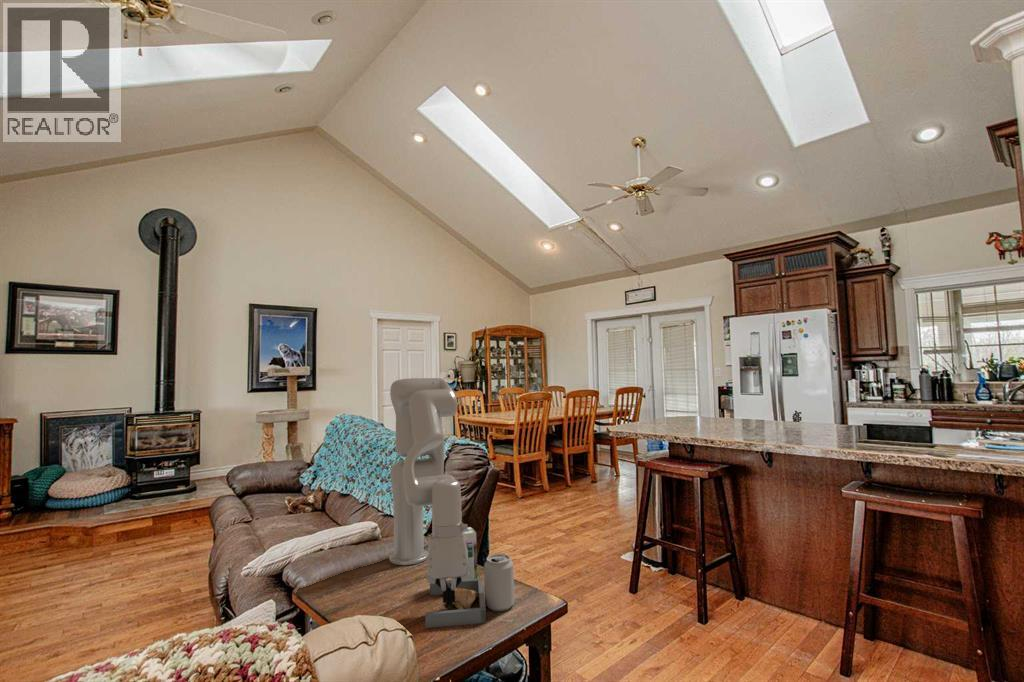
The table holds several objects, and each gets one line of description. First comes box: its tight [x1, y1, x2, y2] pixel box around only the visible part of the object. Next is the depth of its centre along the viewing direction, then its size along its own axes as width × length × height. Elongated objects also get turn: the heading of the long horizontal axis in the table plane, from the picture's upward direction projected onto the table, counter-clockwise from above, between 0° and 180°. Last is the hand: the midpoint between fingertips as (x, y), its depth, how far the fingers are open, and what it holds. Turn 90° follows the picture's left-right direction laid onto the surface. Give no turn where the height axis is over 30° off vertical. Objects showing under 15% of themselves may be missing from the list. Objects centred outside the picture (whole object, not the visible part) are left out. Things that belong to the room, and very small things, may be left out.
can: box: [483, 553, 515, 612], centre depth 124 cm, size 8×8×12 cm
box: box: [424, 577, 487, 629], centre depth 123 cm, size 18×14×3 cm
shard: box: [452, 588, 479, 610], centre depth 124 cm, size 11×8×2 cm
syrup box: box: [462, 526, 479, 579], centre depth 139 cm, size 6×6×14 cm
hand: (449, 605), depth 122 cm, fingers closed
